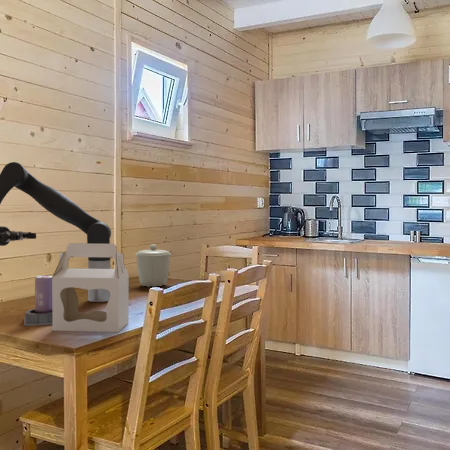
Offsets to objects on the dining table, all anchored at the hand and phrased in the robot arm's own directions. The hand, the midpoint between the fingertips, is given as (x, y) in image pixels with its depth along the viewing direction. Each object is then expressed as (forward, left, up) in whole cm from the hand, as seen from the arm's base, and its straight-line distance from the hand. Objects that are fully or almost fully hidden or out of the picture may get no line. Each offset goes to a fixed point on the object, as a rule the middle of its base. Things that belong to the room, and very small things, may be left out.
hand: (27, 236), depth 198 cm
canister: (-60, -46, -29) cm, 81 cm away
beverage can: (-5, +19, -28) cm, 34 cm away
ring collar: (-5, +20, -29) cm, 35 cm away
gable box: (-20, +34, -29) cm, 49 cm away
